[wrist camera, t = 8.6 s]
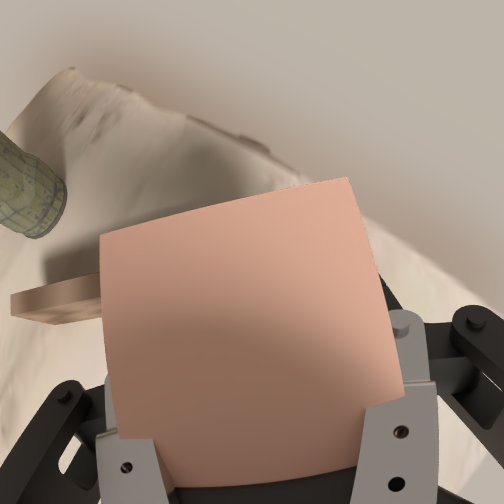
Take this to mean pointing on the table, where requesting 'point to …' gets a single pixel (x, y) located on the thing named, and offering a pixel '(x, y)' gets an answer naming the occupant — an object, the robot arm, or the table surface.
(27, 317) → the walnut screen
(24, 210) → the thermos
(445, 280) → the table surface
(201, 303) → the marked block
